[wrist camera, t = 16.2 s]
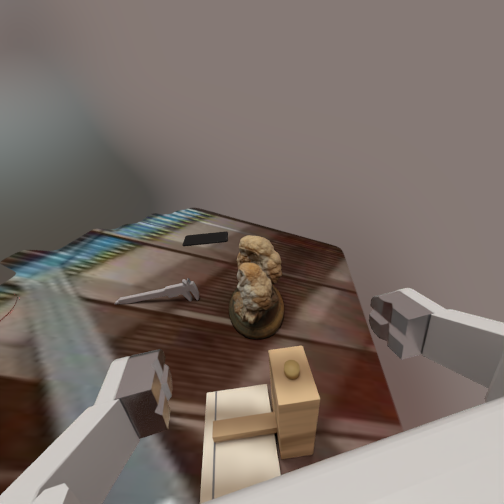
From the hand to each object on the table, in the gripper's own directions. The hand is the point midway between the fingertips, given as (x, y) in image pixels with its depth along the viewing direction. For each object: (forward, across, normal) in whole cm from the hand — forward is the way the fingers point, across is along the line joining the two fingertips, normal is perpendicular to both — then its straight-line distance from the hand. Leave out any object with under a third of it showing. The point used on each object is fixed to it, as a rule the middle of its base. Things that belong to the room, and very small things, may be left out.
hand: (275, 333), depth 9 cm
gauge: (+13, 0, +28) cm, 31 cm away
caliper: (+45, +17, +24) cm, 53 cm away
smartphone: (+72, +4, +20) cm, 75 cm away
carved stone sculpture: (+36, -5, +25) cm, 44 cm away
